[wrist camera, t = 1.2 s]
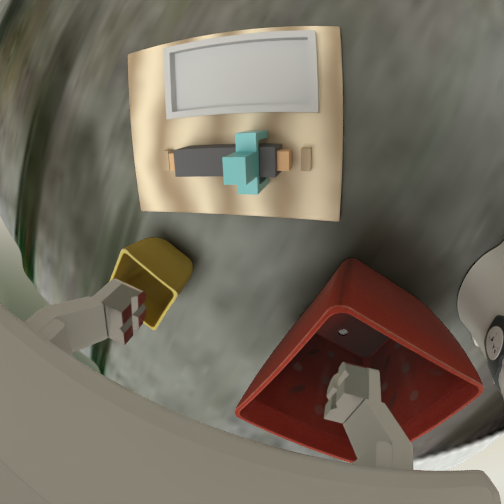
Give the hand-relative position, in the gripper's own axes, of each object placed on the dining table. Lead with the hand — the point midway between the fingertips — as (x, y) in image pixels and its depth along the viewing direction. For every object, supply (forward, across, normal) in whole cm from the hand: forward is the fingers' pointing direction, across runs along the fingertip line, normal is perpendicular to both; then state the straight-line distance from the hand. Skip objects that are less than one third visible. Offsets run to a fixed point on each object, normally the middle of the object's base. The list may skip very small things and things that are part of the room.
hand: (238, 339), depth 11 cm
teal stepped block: (+24, +6, -2) cm, 25 cm away
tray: (+25, +10, -10) cm, 29 cm away
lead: (+25, +8, -1) cm, 26 cm away
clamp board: (+26, +10, -5) cm, 28 cm away
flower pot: (+26, +15, +16) cm, 34 cm away
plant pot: (+26, -12, +14) cm, 32 cm away
